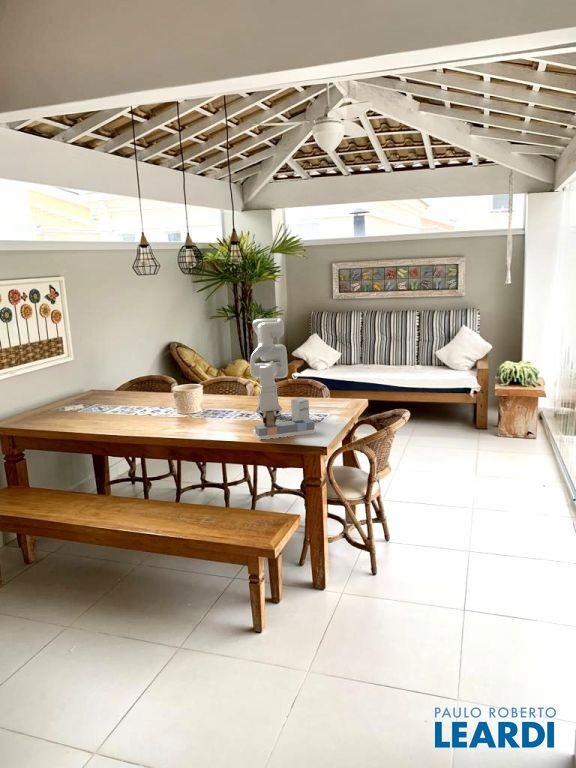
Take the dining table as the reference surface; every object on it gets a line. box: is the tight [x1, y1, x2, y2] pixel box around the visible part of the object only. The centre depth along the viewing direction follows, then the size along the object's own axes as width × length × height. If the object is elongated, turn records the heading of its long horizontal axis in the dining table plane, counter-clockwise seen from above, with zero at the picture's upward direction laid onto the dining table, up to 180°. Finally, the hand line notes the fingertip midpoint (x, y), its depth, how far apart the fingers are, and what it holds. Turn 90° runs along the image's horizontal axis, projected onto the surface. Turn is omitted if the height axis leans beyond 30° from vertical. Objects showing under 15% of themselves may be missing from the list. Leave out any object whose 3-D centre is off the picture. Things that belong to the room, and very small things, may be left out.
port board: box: [252, 418, 316, 441], centre depth 315 cm, size 14×30×6 cm, turn 107°
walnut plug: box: [265, 411, 276, 427], centre depth 309 cm, size 4×4×10 cm
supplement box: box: [290, 397, 310, 421], centre depth 337 cm, size 7×7×13 cm
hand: (269, 423), depth 309 cm, fingers closed on walnut plug, 4 cm apart
